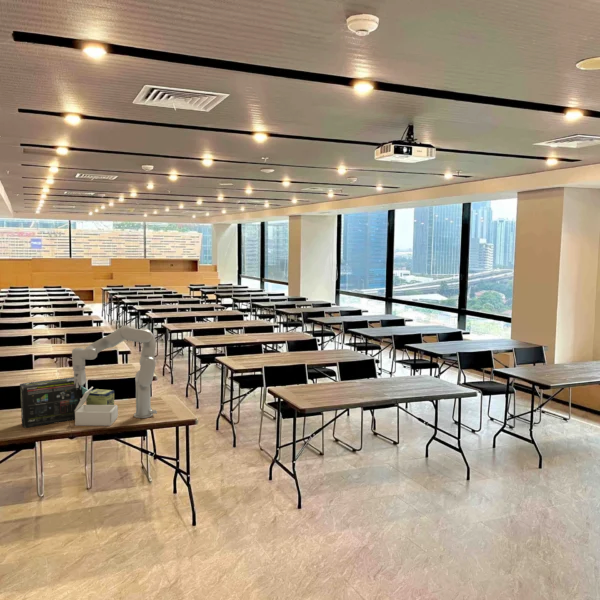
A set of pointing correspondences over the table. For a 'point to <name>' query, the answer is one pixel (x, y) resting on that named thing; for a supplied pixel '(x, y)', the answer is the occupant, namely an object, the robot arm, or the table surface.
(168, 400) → the table surface
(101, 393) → the protein box
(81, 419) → the white open box
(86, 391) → the flap
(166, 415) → the table surface
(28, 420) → the router box
